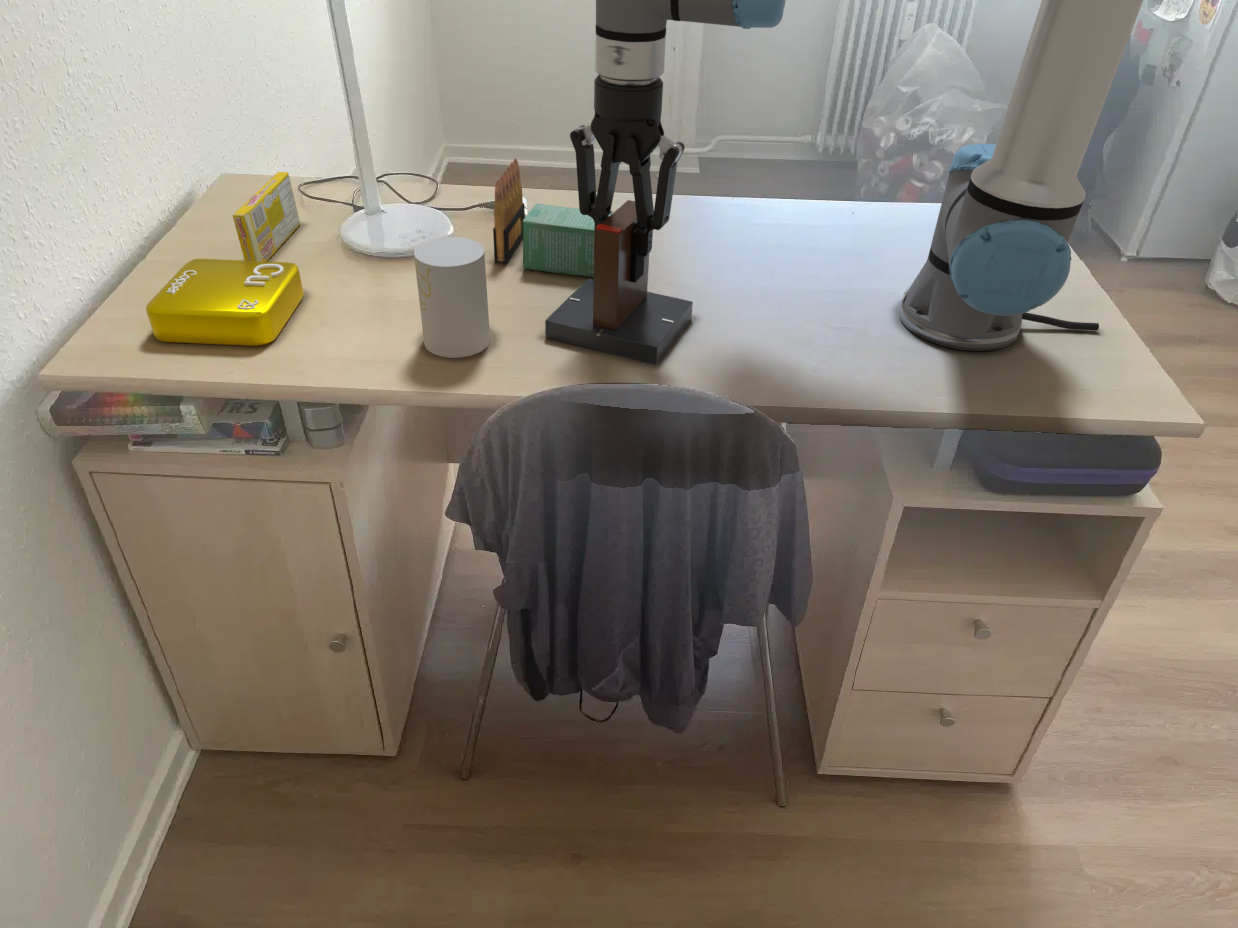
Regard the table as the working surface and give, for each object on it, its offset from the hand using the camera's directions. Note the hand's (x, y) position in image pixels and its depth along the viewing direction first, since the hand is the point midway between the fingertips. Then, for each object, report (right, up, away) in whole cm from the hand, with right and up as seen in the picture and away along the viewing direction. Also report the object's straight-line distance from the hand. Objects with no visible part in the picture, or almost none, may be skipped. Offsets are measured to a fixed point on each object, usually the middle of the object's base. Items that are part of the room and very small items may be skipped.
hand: (621, 274), depth 114 cm
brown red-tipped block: (0, -4, +3) cm, 5 cm away
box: (-7, +5, +19) cm, 21 cm away
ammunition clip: (-17, +8, +23) cm, 29 cm away
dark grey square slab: (0, -6, +5) cm, 8 cm away
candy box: (-51, +8, +21) cm, 56 cm away
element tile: (-50, -5, +4) cm, 50 cm away
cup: (-21, -8, +1) cm, 22 cm away
